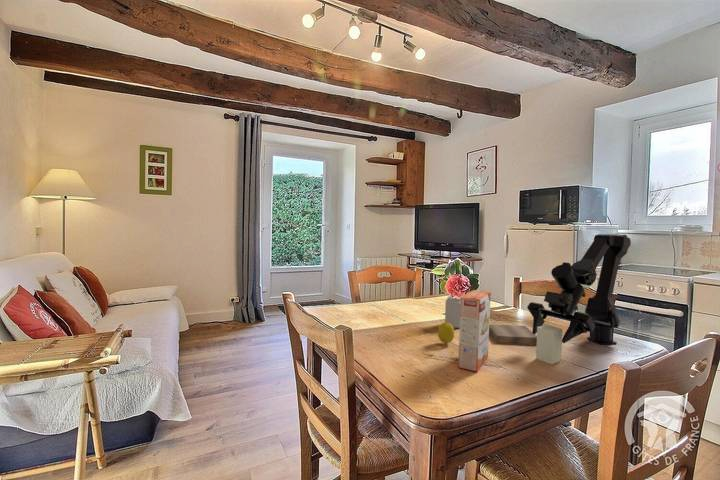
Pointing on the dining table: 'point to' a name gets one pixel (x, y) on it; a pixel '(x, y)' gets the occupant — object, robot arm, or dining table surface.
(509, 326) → the brown flat square slab
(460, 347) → the cracker box
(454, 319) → the can
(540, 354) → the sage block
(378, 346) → the dining table surface
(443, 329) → the lemon
